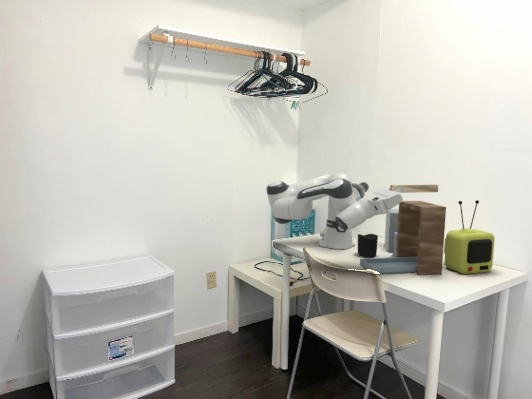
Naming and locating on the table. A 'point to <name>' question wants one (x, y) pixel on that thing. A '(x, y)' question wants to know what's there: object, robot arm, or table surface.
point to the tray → (391, 265)
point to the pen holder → (367, 245)
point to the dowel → (415, 188)
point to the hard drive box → (391, 228)
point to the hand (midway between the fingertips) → (400, 187)
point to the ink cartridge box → (394, 244)
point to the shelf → (422, 235)
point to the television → (469, 249)
